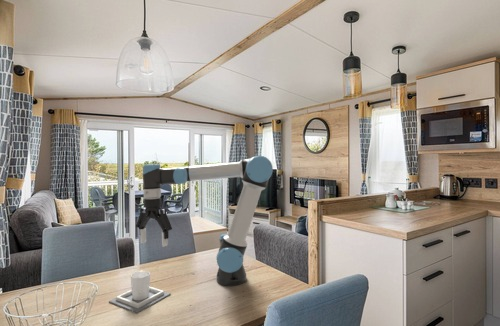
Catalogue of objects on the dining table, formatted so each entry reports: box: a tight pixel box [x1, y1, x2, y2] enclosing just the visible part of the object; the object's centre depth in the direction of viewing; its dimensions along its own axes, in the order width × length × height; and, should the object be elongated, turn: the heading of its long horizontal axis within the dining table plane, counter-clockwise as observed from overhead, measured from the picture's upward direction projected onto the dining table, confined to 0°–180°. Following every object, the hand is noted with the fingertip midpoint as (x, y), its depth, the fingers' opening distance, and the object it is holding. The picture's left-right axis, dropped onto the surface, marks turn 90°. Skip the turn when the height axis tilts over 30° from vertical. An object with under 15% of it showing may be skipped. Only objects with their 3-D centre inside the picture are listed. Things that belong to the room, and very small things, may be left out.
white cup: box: [130, 270, 151, 300], centre depth 123 cm, size 8×8×10 cm
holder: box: [108, 286, 172, 314], centre depth 123 cm, size 18×18×2 cm
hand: (154, 244), depth 128 cm, fingers open, 13 cm apart
